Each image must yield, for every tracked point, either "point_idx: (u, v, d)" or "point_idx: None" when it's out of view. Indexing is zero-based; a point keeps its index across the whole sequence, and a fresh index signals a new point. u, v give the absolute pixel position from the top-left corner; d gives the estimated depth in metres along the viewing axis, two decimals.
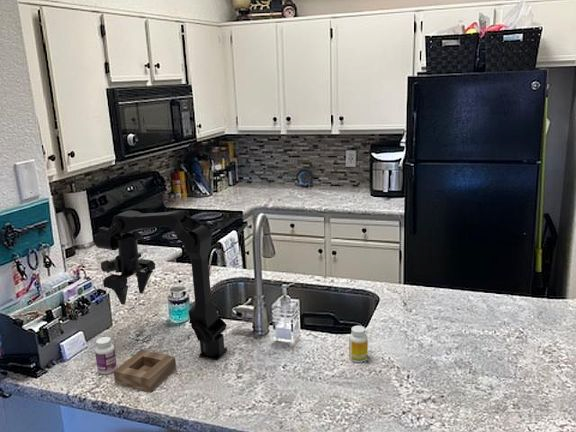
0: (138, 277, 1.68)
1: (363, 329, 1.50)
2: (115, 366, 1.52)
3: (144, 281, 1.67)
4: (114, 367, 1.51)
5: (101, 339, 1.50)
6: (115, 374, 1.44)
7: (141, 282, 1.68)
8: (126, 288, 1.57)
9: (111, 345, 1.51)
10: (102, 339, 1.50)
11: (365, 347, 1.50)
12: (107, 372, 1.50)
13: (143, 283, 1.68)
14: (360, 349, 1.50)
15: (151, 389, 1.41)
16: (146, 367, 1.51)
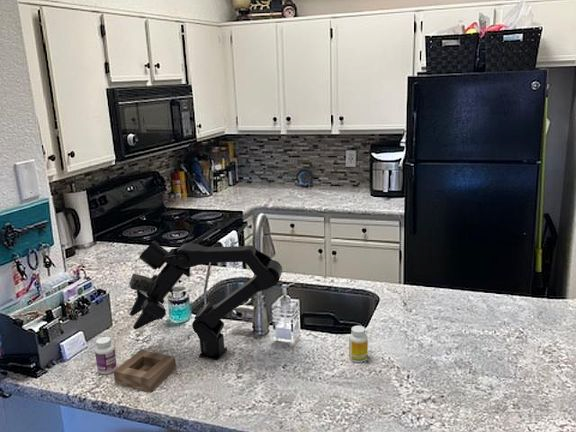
0: (139, 299, 1.56)
1: (363, 329, 1.50)
2: (115, 366, 1.52)
3: None
4: (114, 367, 1.51)
5: (101, 339, 1.50)
6: (115, 374, 1.44)
7: (139, 306, 1.56)
8: None
9: (111, 345, 1.51)
10: (102, 339, 1.50)
11: (365, 347, 1.50)
12: (107, 372, 1.50)
13: (141, 307, 1.57)
14: (360, 349, 1.50)
15: (151, 389, 1.41)
16: (146, 367, 1.51)
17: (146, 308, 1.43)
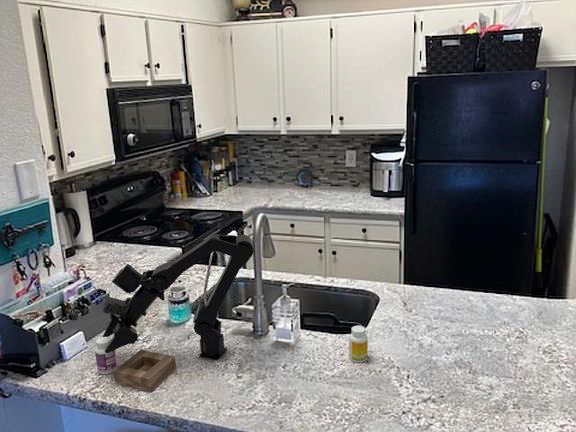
0: (113, 322, 1.55)
1: (363, 329, 1.50)
2: (115, 366, 1.52)
3: None
4: (114, 367, 1.51)
5: (101, 339, 1.50)
6: (115, 374, 1.44)
7: (113, 328, 1.55)
8: None
9: None
10: (102, 339, 1.50)
11: (365, 347, 1.50)
12: (107, 372, 1.50)
13: (114, 330, 1.55)
14: (360, 349, 1.50)
15: (151, 389, 1.41)
16: (146, 367, 1.51)
17: (117, 333, 1.41)
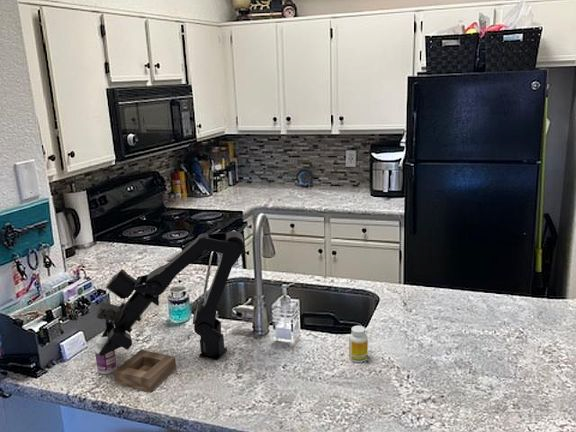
0: (108, 330, 1.53)
1: (363, 329, 1.50)
2: (115, 366, 1.52)
3: None
4: (114, 367, 1.51)
5: (101, 339, 1.50)
6: (115, 374, 1.44)
7: (108, 336, 1.53)
8: None
9: None
10: (102, 339, 1.50)
11: (365, 347, 1.50)
12: (107, 372, 1.50)
13: None
14: (360, 349, 1.50)
15: (151, 389, 1.41)
16: (146, 367, 1.51)
17: (111, 339, 1.41)
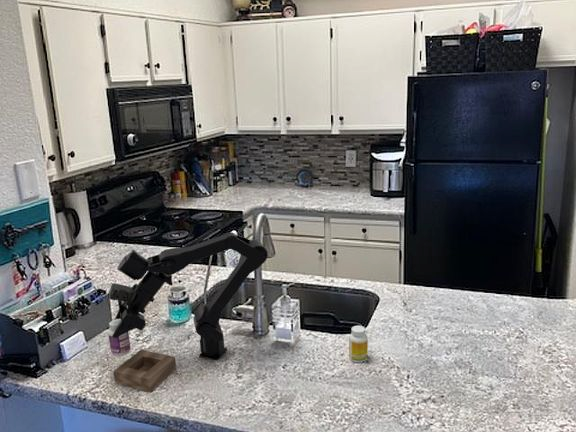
0: (121, 312, 1.50)
1: (363, 329, 1.50)
2: (129, 348, 1.49)
3: None
4: (128, 349, 1.48)
5: (114, 321, 1.47)
6: (115, 374, 1.44)
7: (121, 318, 1.50)
8: None
9: None
10: (115, 321, 1.47)
11: (365, 347, 1.50)
12: (121, 354, 1.47)
13: None
14: (360, 349, 1.50)
15: (151, 389, 1.41)
16: (146, 367, 1.51)
17: (125, 319, 1.38)
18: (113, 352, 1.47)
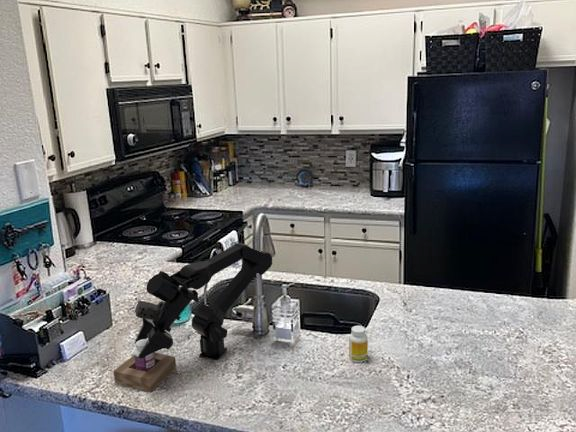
0: (145, 327, 1.49)
1: (363, 329, 1.50)
2: None
3: None
4: None
5: (140, 341, 1.46)
6: (115, 374, 1.44)
7: (145, 333, 1.50)
8: None
9: None
10: (141, 341, 1.46)
11: (365, 347, 1.50)
12: None
13: (147, 335, 1.50)
14: (360, 349, 1.50)
15: (151, 389, 1.41)
16: None
17: (153, 338, 1.37)
18: None
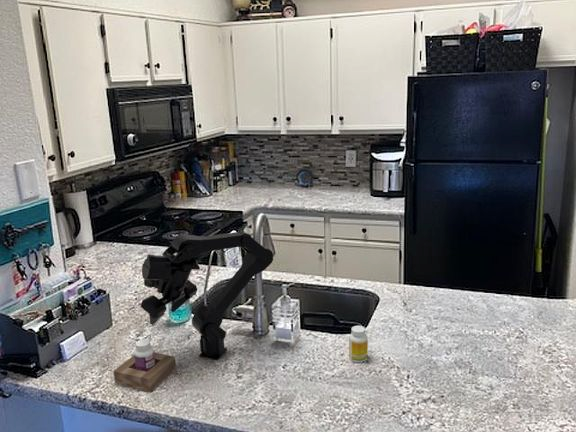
0: None
1: (363, 329, 1.50)
2: None
3: (180, 303, 1.57)
4: None
5: (140, 341, 1.46)
6: (115, 374, 1.44)
7: (176, 303, 1.57)
8: (162, 315, 1.47)
9: (150, 348, 1.46)
10: (141, 341, 1.46)
11: (365, 347, 1.50)
12: None
13: (178, 305, 1.57)
14: (360, 349, 1.50)
15: (151, 389, 1.41)
16: None
17: (141, 305, 1.45)
18: None
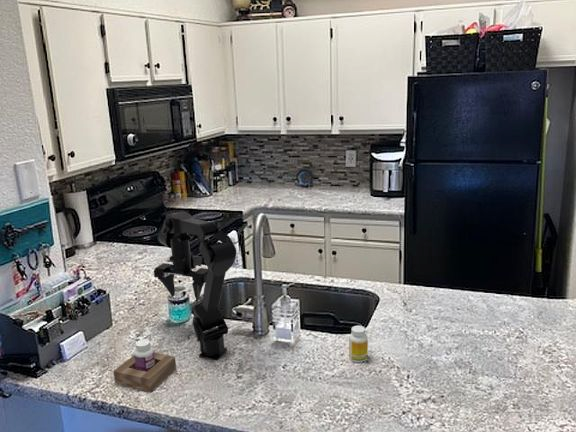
0: None
1: (363, 329, 1.50)
2: None
3: None
4: None
5: (140, 341, 1.46)
6: (115, 374, 1.44)
7: None
8: (163, 280, 1.66)
9: (150, 348, 1.46)
10: (141, 341, 1.46)
11: (365, 347, 1.50)
12: None
13: None
14: (360, 349, 1.50)
15: (151, 389, 1.41)
16: None
17: None
18: None
